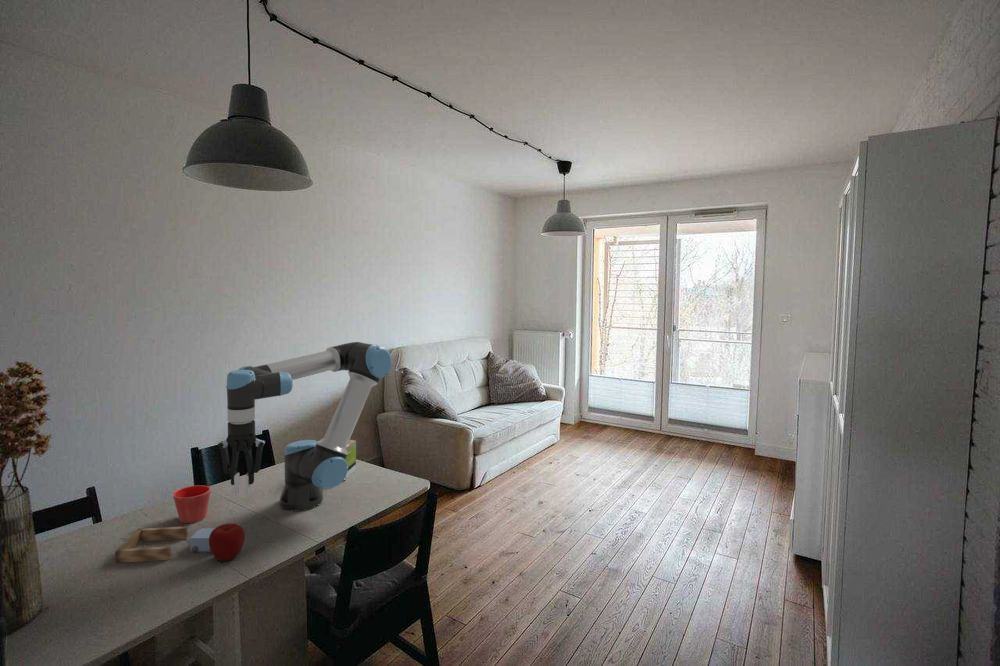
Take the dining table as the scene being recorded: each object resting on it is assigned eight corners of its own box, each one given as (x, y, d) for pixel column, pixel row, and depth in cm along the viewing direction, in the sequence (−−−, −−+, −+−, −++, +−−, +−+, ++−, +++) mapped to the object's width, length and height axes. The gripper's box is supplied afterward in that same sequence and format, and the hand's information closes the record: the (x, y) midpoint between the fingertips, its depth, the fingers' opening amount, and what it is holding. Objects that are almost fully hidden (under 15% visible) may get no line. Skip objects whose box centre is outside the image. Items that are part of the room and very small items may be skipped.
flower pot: (177, 513, 180) (176, 487, 179) (212, 509, 184) (212, 483, 183) (171, 527, 170) (170, 499, 169) (209, 522, 174) (208, 495, 173)
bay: (188, 536, 165) (187, 526, 164) (169, 559, 152) (169, 548, 151) (139, 539, 162) (138, 528, 162) (115, 562, 149) (115, 551, 149)
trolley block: (227, 540, 164) (227, 527, 163) (217, 553, 157) (216, 539, 156) (201, 540, 163) (201, 527, 162) (189, 553, 156) (189, 539, 155)
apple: (221, 548, 159) (220, 517, 158) (251, 549, 159) (250, 519, 157) (202, 565, 149) (201, 532, 148) (234, 567, 149) (234, 534, 148)
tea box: (312, 477, 215) (312, 443, 214) (324, 468, 225) (324, 436, 223) (345, 481, 213) (346, 446, 211) (356, 472, 223) (356, 439, 221)
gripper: (271, 417, 162) (272, 488, 165) (218, 417, 159) (219, 490, 162) (265, 423, 155) (266, 498, 158) (209, 424, 152) (211, 500, 155)
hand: (242, 494), depth 160 cm, fingers open, 3 cm apart
